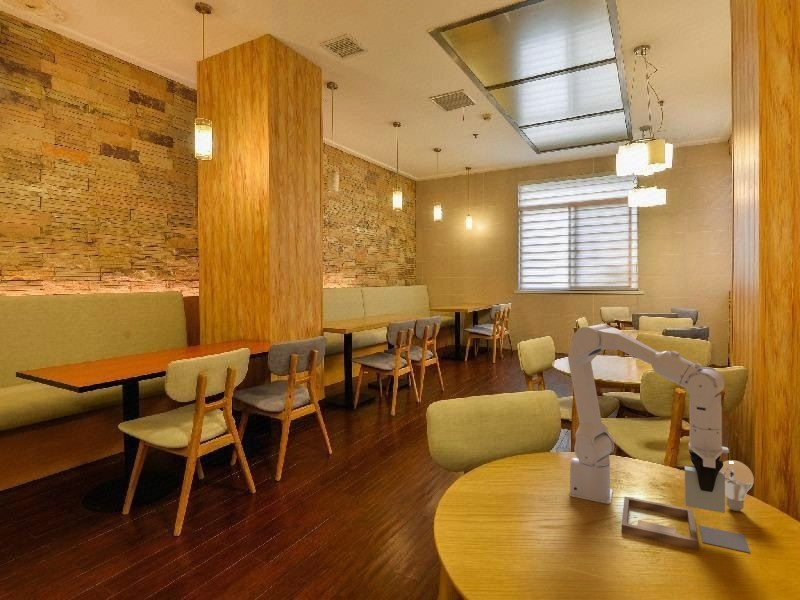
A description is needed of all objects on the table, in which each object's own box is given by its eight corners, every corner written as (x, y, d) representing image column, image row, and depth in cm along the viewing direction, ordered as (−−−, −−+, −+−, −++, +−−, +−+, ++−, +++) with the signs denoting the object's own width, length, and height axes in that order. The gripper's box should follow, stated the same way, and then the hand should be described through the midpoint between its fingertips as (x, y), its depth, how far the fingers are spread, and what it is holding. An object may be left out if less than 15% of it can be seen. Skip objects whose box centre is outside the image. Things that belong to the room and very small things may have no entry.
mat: (702, 543, 93) (702, 541, 93) (699, 526, 99) (699, 525, 99) (750, 553, 89) (750, 552, 89) (743, 535, 95) (743, 534, 95)
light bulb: (760, 519, 101) (760, 468, 100) (725, 517, 102) (726, 466, 102) (743, 504, 108) (743, 456, 107) (711, 502, 109) (711, 454, 108)
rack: (621, 533, 97) (621, 524, 97) (624, 504, 109) (624, 496, 109) (698, 551, 90) (698, 541, 90) (692, 517, 102) (692, 509, 102)
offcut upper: (637, 531, 97) (636, 527, 97) (638, 524, 100) (638, 519, 100) (675, 540, 94) (675, 536, 93) (675, 532, 96) (675, 528, 96)
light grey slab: (685, 505, 96) (685, 469, 96) (684, 501, 98) (684, 466, 98) (724, 513, 93) (724, 475, 93) (723, 508, 95) (723, 471, 94)
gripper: (734, 439, 86) (734, 507, 87) (723, 418, 99) (723, 477, 100) (691, 434, 90) (691, 499, 90) (685, 414, 102) (686, 472, 103)
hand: (705, 487), depth 95 cm, fingers closed on light grey slab, 2 cm apart
